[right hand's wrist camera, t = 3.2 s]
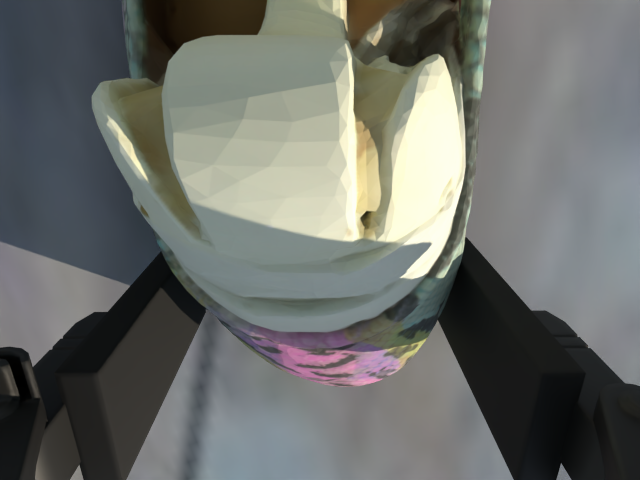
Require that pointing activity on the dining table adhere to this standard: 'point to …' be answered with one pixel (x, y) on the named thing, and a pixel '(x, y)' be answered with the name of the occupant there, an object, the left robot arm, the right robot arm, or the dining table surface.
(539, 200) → the dining table surface
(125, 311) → the right robot arm
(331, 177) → the shoe
